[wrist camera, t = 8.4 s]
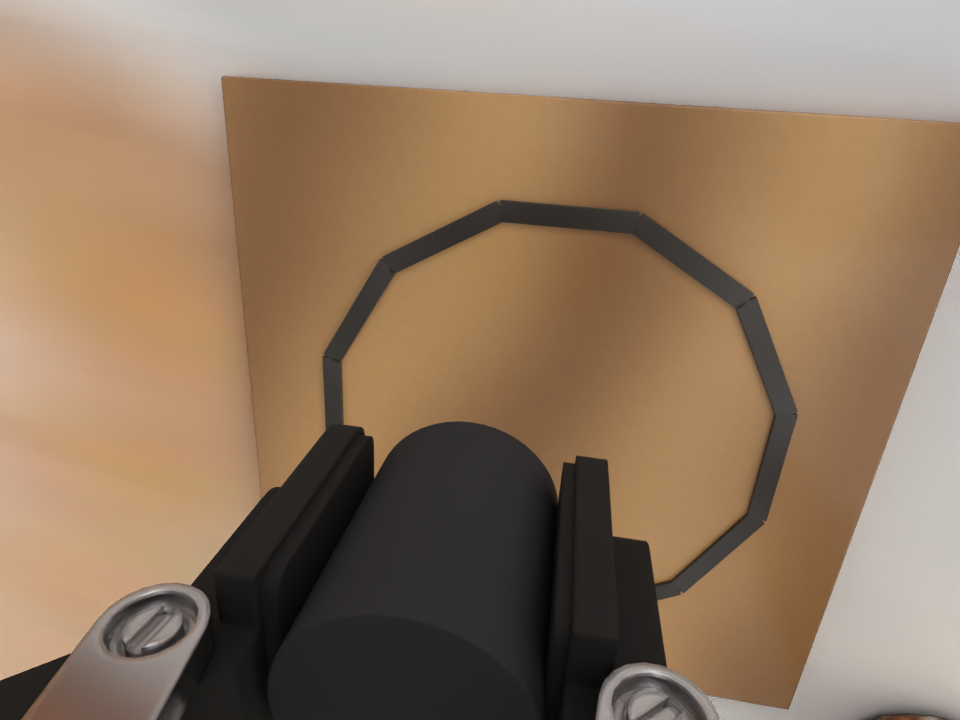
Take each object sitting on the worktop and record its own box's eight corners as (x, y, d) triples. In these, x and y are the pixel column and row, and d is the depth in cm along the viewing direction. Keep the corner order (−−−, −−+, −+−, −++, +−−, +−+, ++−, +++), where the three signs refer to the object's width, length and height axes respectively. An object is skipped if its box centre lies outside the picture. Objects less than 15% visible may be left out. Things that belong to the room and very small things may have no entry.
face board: (990, 124, 15) (1009, 125, 14) (784, 696, 23) (790, 714, 22) (231, 76, 18) (216, 75, 17) (279, 606, 25) (270, 620, 25)
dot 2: (568, 433, 11) (559, 642, 6) (548, 587, 12) (529, 840, 8) (377, 408, 11) (253, 591, 7) (378, 560, 12) (275, 788, 8)
